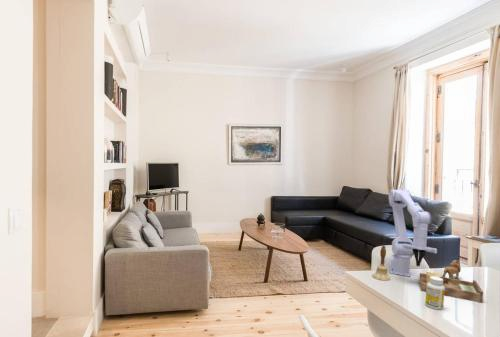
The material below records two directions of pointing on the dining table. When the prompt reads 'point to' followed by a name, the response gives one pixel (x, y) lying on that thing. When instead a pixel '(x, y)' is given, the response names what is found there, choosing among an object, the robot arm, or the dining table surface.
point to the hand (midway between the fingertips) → (417, 265)
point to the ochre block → (430, 276)
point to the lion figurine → (452, 269)
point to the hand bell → (382, 267)
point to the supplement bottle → (435, 293)
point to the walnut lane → (457, 288)
